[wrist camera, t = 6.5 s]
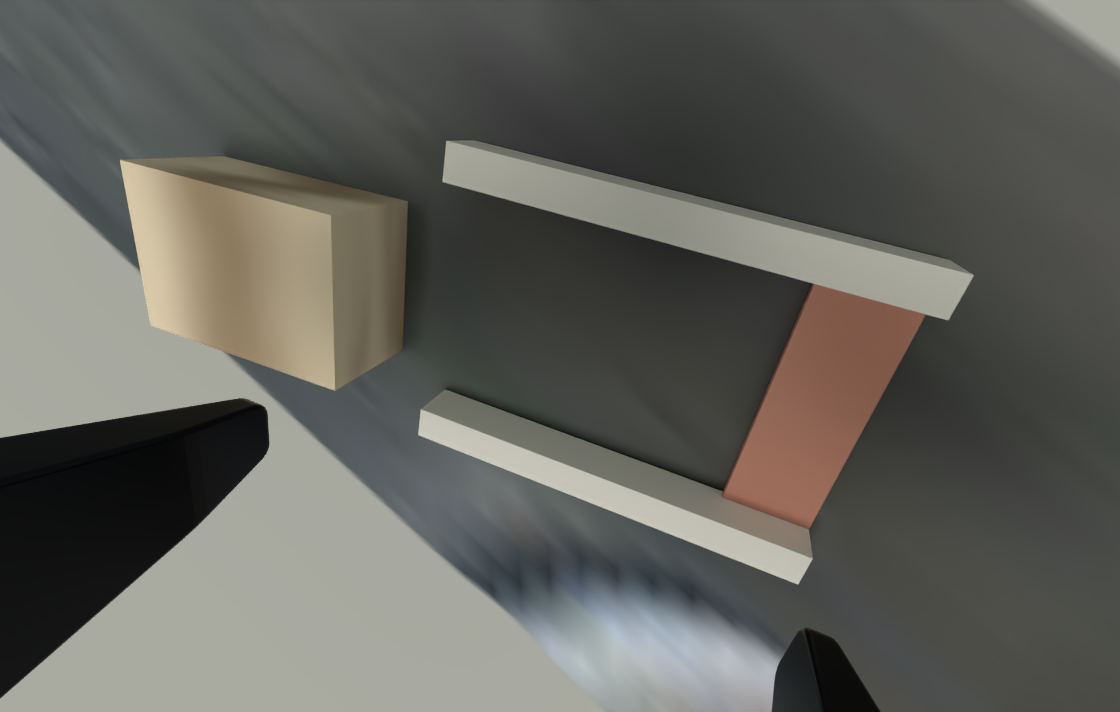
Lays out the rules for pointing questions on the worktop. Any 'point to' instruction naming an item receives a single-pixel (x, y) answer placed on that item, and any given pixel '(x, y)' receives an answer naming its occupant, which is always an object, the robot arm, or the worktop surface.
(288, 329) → the birch block
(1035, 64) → the worktop surface
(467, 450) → the channel
